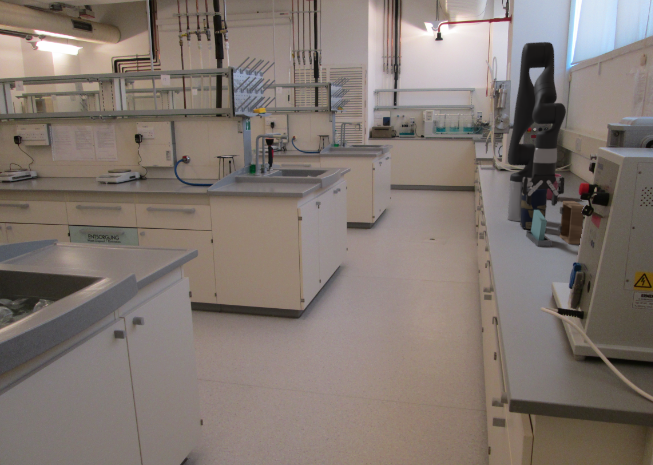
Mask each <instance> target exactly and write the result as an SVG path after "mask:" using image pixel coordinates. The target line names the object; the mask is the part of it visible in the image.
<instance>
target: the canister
mask: <svg viewBox="0 0 653 465" xmlns="http://www.w3.org/2000/svg"><path fill="white" fill-rule="evenodd" d="M530 187H531V186H528V187H527V190H526V191H528V190H529V188H530ZM531 196H532V197H531V206H528V205H527V204H526V195H525V194H523V193H522V201H521V219H520V221H519V226H520V227H521V228H523V229H527V230H531V227H532V221H533V214H534V210H539V211H540V212H541V213H542V215H543V216H544V217H545V218H546V214H547V207H548V206H547V202H548V199H547V189H536V190H535V191H534V192H533V193H532V194H531Z"/></svg>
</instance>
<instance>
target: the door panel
mask: <svg viewBox="0 0 653 465" xmlns="http://www.w3.org/2000/svg"><path fill="white" fill-rule="evenodd" d="M547 222H548V220H547V219H546V216H545V217H544V216H543V215H542V213H541V212H540V211H539V210H534V214H533V221H532V227H531V229H530V231H531V232H532V234H533V235H534V236H535V237H536V238H537V239H539V240H544V236H546V235H545V234H546V229H547V224H548V223H547Z"/></svg>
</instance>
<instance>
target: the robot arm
mask: <svg viewBox="0 0 653 465" xmlns="http://www.w3.org/2000/svg"><path fill="white" fill-rule="evenodd" d="M520 58H521V59H520V68H519V69H520V70H519V80H518V81H519V84H518V90H517V95H516V101H515V108H514V116H513V125H512V131H511V132H512V133H511V136H510V142H509V146H508V151H507V152H508V153H507V162H508V163H507V164H509V165H511V166H524V167H523V168H522V169H521V170H518V171H516V172H514V173H511V174H510V177H509V190H508V191H509V192H508V204H507V205H508V207H507V219H508V220H510V221H514V222H520V219H521V201H522V193H523V194H525V195H526V204H527V205H528V206H531V197H532V196H531V194H532V193H533V192H534V191H535V190H536V189H550V190H551V192H552V193H553V195H552V199H551V206H553V207H555V206H556V205H557V204H558V199H559V198H558V196H559V195H563V194H564V193H565V177H563V176H562V175H561V176H560V177H555V174H556V168H557V160H558V151H557V150H558V139H559V138H558V137H559V133H560V130H561V127H562V125H563V122H564V120H565V117H566V113H567V110H566V106H565V105H564V103H561V102H556V101H557V99H558V95H557V88H556V85H555V49H554V44H552V42H549V41H548V42H547V41H541V42H527V43H525V44H524V45H523V47H522V52H521V56H520ZM543 68H544V69H543ZM530 69H543V71H542V72H541V73H540V75H538V77H537V78H536V80H535V82H534V84H533V81H532V79H531V75H530V74H531V73H530ZM534 123H535V124H538V125H551V127H550V128H548V129H545V130H540V131H538V132H537V133H536V135H535V144H534V143H520V142H521V140H522V137H523V136H524V135H525V133H526V132H527V131H528V130H529V129H530V128H531V126H533V124H534ZM555 181H557V183H558V189H557V190H556V189H555V187H554V186H553V184H554V182H555ZM528 186H531V187H530V188H529V190H528V191H526V190H527V187H528Z"/></svg>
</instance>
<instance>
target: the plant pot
mask: <svg viewBox="0 0 653 465" xmlns="http://www.w3.org/2000/svg"><path fill="white" fill-rule="evenodd" d="M560 176H561V177H562V175H561V174H559V173H555V177H560ZM553 186H554V187H555V189H556V190H557V191H558V183H557V181H555V182H554V184H553ZM552 195H553V193H552V192H551V190H550V189H547V200H552Z"/></svg>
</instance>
